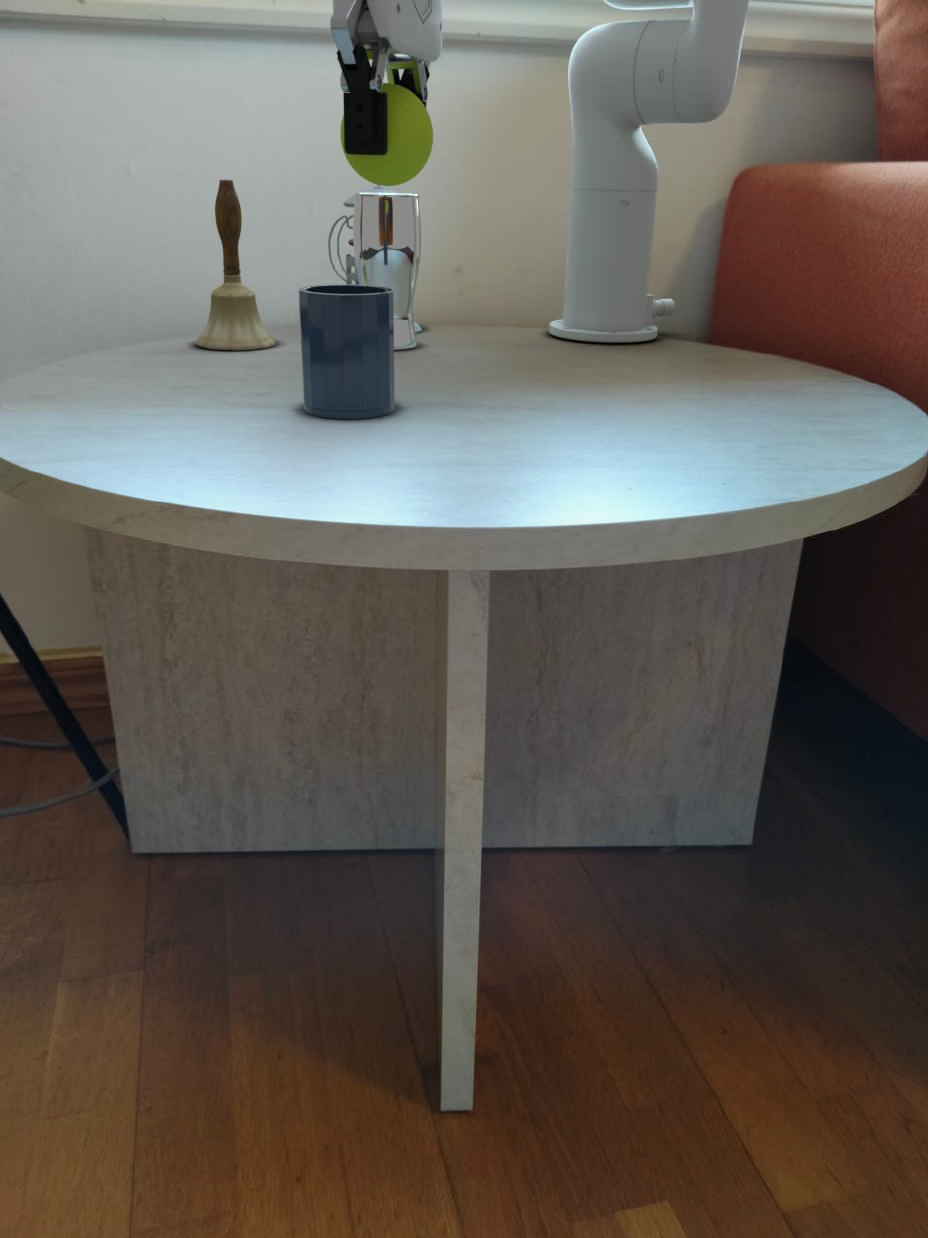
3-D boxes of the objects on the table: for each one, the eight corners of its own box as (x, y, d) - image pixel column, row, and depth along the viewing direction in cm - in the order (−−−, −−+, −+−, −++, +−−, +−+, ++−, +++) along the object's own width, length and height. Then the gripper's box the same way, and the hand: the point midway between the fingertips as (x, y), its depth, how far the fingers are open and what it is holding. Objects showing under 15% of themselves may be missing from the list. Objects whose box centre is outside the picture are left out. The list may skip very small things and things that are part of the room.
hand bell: (288, 340, 107) (280, 180, 101) (255, 352, 100) (244, 180, 93) (218, 336, 109) (206, 178, 102) (181, 347, 102) (165, 178, 95)
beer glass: (411, 352, 102) (411, 194, 96) (347, 348, 103) (342, 193, 97) (427, 342, 108) (428, 193, 102) (366, 339, 109) (363, 192, 103)
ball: (403, 186, 80) (403, 89, 78) (449, 187, 75) (452, 83, 72) (325, 183, 77) (323, 82, 74) (369, 185, 71) (368, 75, 69)
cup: (366, 396, 82) (364, 282, 78) (410, 412, 77) (410, 292, 73) (289, 405, 78) (283, 286, 75) (329, 423, 73) (325, 296, 69)
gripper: (386, -175, 59) (387, 153, 66) (477, -100, 74) (470, 160, 81) (275, -166, 61) (288, 151, 69) (385, -95, 76) (386, 158, 84)
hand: (386, 154), depth 75 cm, fingers closed on ball, 6 cm apart
